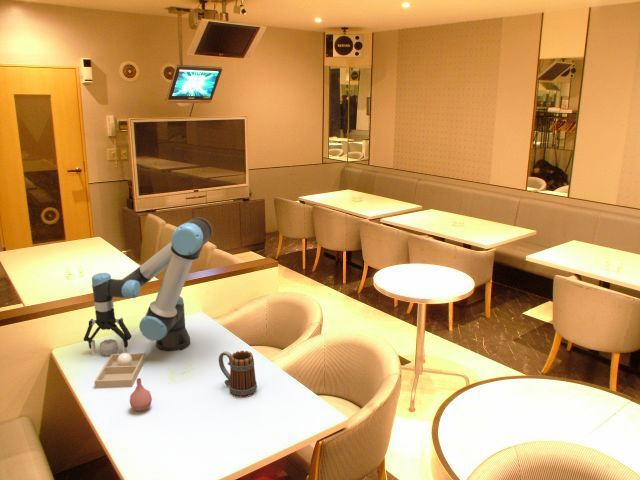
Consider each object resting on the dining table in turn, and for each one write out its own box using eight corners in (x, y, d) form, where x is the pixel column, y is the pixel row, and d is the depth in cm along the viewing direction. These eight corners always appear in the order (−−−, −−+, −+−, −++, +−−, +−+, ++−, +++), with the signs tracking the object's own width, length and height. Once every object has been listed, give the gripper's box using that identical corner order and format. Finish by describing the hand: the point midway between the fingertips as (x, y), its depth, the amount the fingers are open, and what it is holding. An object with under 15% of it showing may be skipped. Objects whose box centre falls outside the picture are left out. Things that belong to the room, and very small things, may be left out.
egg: (134, 362, 231) (133, 350, 230) (130, 369, 226) (129, 356, 224) (119, 363, 231) (118, 350, 229) (115, 370, 225) (114, 357, 224)
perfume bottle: (129, 405, 201) (126, 376, 198) (151, 401, 204) (148, 372, 201) (131, 416, 194) (128, 386, 191) (153, 412, 197) (151, 382, 194)
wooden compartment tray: (145, 360, 234) (145, 353, 233) (132, 388, 213) (131, 379, 212) (112, 361, 233) (111, 354, 232) (95, 389, 212) (94, 381, 211)
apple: (122, 354, 240) (121, 340, 238) (105, 360, 234) (103, 346, 233) (113, 348, 245) (112, 335, 243) (96, 354, 240) (95, 341, 238)
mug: (262, 387, 214) (261, 352, 210) (247, 400, 204) (246, 364, 200) (228, 378, 220) (226, 344, 216) (213, 391, 211) (211, 355, 207)
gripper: (136, 304, 238) (140, 349, 244) (78, 306, 237) (83, 351, 242) (131, 311, 231) (136, 357, 237) (71, 313, 230) (77, 359, 235)
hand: (109, 354), depth 240 cm, fingers open, 12 cm apart
